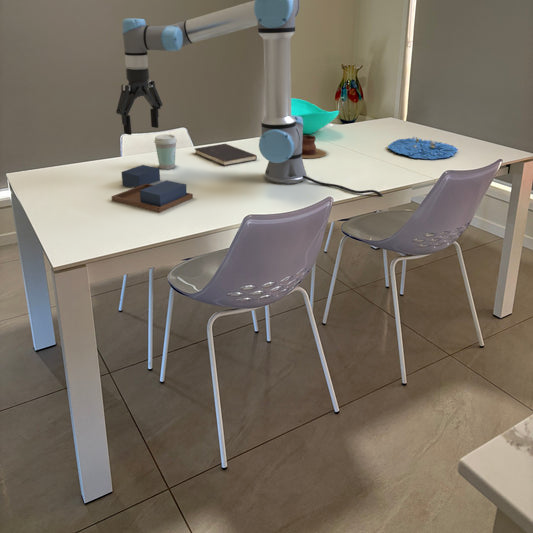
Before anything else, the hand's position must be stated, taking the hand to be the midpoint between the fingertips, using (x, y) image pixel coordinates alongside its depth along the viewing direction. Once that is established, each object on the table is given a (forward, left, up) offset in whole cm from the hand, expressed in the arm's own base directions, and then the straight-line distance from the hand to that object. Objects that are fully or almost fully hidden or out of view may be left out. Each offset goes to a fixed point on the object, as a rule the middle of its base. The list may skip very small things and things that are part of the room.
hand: (141, 130), depth 209 cm
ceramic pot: (-31, -65, -18) cm, 75 cm away
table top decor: (-12, -99, -18) cm, 102 cm away
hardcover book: (-6, -41, -18) cm, 45 cm away
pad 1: (-2, +5, -18) cm, 19 cm away
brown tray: (-18, +17, -18) cm, 31 cm away
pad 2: (-23, +17, -17) cm, 34 cm away
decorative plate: (-72, -97, -18) cm, 123 cm away
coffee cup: (+4, -16, -18) cm, 24 cm away
